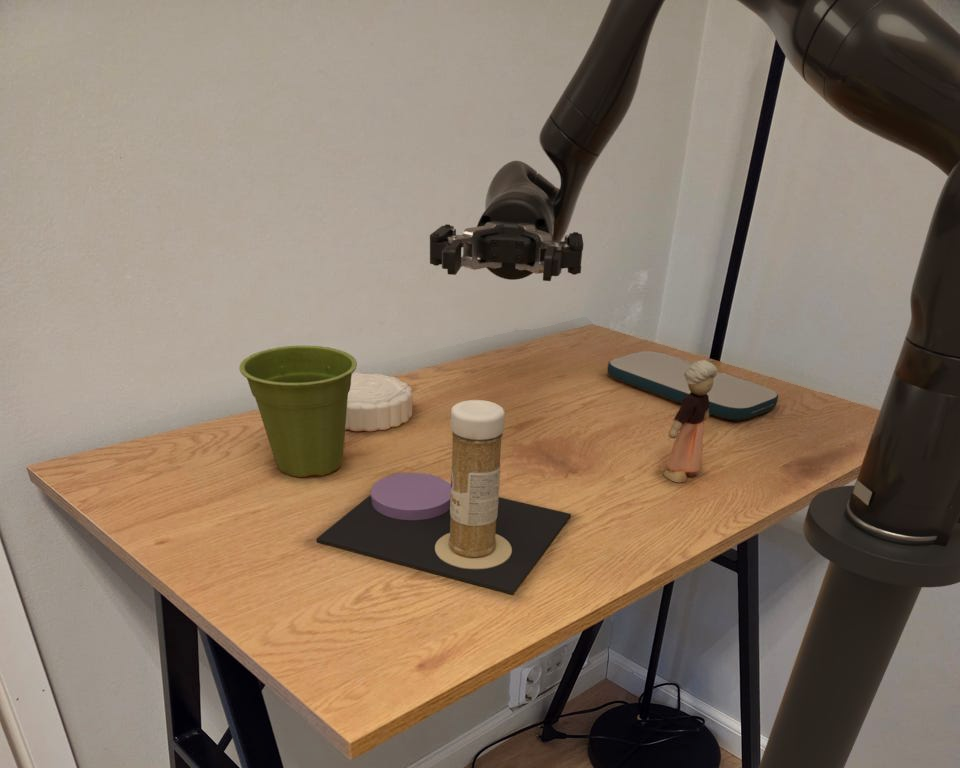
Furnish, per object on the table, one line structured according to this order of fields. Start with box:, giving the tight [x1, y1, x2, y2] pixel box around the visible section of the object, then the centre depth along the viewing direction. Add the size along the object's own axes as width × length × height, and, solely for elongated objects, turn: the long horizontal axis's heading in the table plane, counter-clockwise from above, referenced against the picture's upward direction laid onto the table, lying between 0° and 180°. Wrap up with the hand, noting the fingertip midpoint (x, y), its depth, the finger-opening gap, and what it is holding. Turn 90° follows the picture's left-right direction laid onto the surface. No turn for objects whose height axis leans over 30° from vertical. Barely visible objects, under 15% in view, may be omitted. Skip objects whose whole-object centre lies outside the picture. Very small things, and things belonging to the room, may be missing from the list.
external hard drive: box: [607, 350, 779, 421], centre depth 113 cm, size 24×12×2 cm, turn 42°
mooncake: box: [345, 372, 413, 433], centre depth 102 cm, size 12×12×4 cm
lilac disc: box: [370, 472, 451, 520], centre depth 83 cm, size 8×8×1 cm
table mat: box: [315, 494, 572, 596], centre depth 80 cm, size 20×16×1 cm
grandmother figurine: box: [663, 359, 718, 484], centre depth 89 cm, size 8×4×13 cm, turn 151°
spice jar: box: [449, 399, 506, 557], centre depth 72 cm, size 5×5×13 cm
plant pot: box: [239, 345, 358, 478], centre depth 87 cm, size 12×12×11 cm
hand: (499, 265), depth 72 cm, fingers open, 8 cm apart
